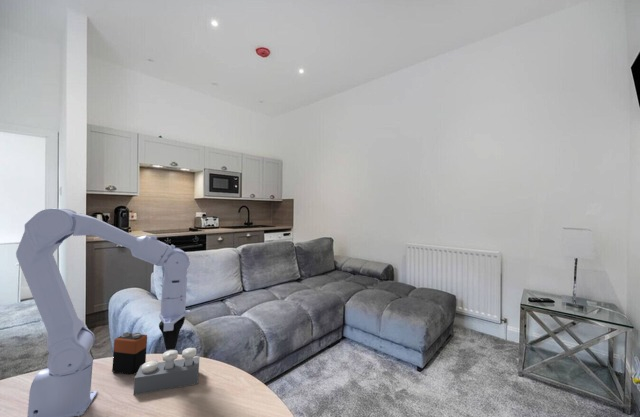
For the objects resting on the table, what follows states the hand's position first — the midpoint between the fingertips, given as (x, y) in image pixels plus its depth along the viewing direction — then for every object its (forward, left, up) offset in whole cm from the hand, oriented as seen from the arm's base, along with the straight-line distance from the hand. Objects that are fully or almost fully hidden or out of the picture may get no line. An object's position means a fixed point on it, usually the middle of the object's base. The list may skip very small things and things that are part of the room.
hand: (170, 348), depth 70 cm
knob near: (-5, 0, -9) cm, 10 cm away
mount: (0, 0, -9) cm, 9 cm away
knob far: (+5, 0, -7) cm, 8 cm away
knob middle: (0, 0, -6) cm, 6 cm away
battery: (-11, +9, -9) cm, 17 cm away
